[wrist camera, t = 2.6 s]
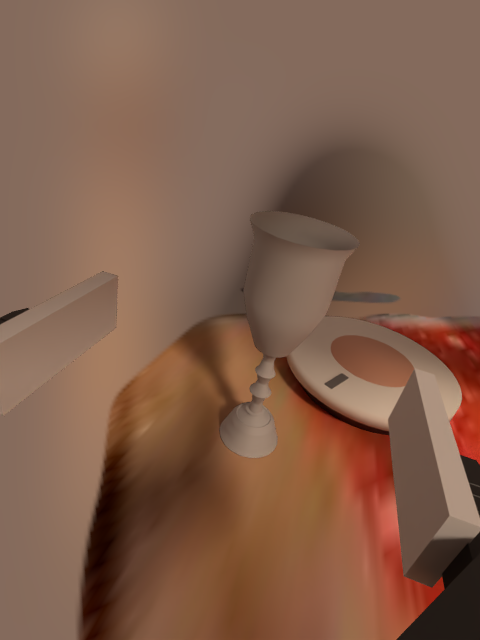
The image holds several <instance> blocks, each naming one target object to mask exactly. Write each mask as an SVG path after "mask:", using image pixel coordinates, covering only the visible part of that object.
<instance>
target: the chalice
mask: <svg viewBox="0 0 480 640" xmlns="http://www.w3.org/2000/svg"><path fill="white" fill-rule="evenodd" d="M250 221H251V225H252V229H253V233H254V241H253V246H252V251H251V256H250V261H249V266H248V271H247V276H246V281H245V285H244V290H243V292H244V299H245V306H246V315H247V318H248V322H249V326H250V329H251V333H252V337H253V340H254V344H255V347H256V348H257V349H258V350H259V351H260V352H262V353H263V359H262V361H261V363H260V365H259V366H257V367H256V369H255V371H256V373H257V377H258V380H257V381H256V383H253V384H252V385H251V386H250V392H251V393H252V401H251V402H246V403H242V404H240V405H238V406H236V407H235V408H234V409H233V410H232V412H230V414H229V415H228V416H227V417H226V418H225V419H224V420H223V422H222V423H221V426H220V436H221V439H222V441H223V442H224V444H225V445H226V446H227V447H228V448H229V449H230V450H231V451H233V452H235V453H236V454H238V455H240V456H244V457H248V458H260V457H263V456H267V455H268V454H270V453H271V452H272V451H274V449H275V447H276V445H277V438H278V437H277V434H276V428H275V425H274V419H273V416H272V414H271V413H270V412H269V410H268V409H267V408H266V407H265V406H263V405H262V404H263V401H264V399H265V398H268V397H269V396H270V395H271V390H270V388H269V387H268V382H269V381H270V379H271V378H273V377H275V371H274V361H275V359H276V357H278V358H281V357H286V356H287V355H289V354H290V353H291V352H292V351H293V350H294V349H295V348H296V347H298V346H299V345H300V344H301V343H302V342H303V341H304V340H305V339H306V338H307V337H308V336H309V335H310V334H311V333H312V332H313V331H314V329H315V328H316V327H317V326H318V324H319V323H320V322H321V321H322V319H323V318H324V317H325V315H326V314H327V312H328V309H329V306H330V303H331V300H332V297H333V295H334V292H335V288H336V285H337V283H338V280H339V277H340V274H341V271H342V268H343V265H344V262H345V260H346V259H347V258H348V257H349V256H350V255H351V254H352V253H353V252H354V251H355V250H356V248H358V246H359V244H360V243H359V241H358V240H357V238H356V237H354V236H353V235H352V234H350V233H349V232H347V231H345V230H343V229H341V228H339V227H336V226H334V225H332V224H329V223H326V222H324V221H320V220H317V219H314V218H310V217H306V216H302V215H297V214H292V213H285V212H276V211H263V212H256V213H254V214H252V215H251V217H250Z"/></svg>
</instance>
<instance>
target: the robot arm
mask: <svg viewBox="0 0 480 640" xmlns="http://www.w3.org/2000/svg"><path fill="white" fill-rule="evenodd" d="M117 287H118V276H117V275H114V274H110V273H107V272H104V271H102V272H100V273H98V274H96V275H95V276H93V277H91V278H89V279H87V280H85V281H83V282H81V283H79V284H77V285H76V286H73V287H72V288H70V289H68V290H66V291H64V292H62V293H60V294H58V295H56V296H54V297H52V298H50V299H49V300H47V301H45V302H43V303H41V304H39V305H37V306H35V307H33V308H31V309H28V308H26V309H22V310H18V311H14V312H11V313H9V314H7V315H5V316H3V317H1V318H0V415H2V416H4V415H5V414H6V413H8V412H9V411H10V410H12V409H13V408H14V407H15V406H17V405H18V404H19V403H21V402H22V401H23V400H24V399H25V398H27V397H28V396H29V395H31V394H32V393H33V392H34V391H36V390H37V389H38V388H40V387H41V386H42V385H43V384H45V383H46V382H47V381H49V380H50V379H51V378H53V377H54V376H55V375H56V374H58V373H59V372H60V371H61V370H63V369H64V368H65V367H66V366H68V365H69V364H70V363H72V362H73V361H74V360H76V359H77V358H78V357H79V356H81V355H82V354H83V353H84V352H86V351H87V350H88V349H90V348H91V347H92V346H93V345H95V344H96V343H97V342H99V341H100V340H101V339H102V338H104V337H105V336H106V335H107V334H109V333H110V332H111V331H113V330H114V329H115V328H116V316H117ZM388 425H389V435H390V445H391V455H392V464H393V474H394V484H395V494H396V504H397V514H398V524H399V534H400V543H401V553H402V563H403V573H404V576H405V577H407V578H410V579H412V580H415V581H417V582H420V583H422V584H425V585H427V586H430V587H433V586H434V585H435V584H436V582H437V581H438V580H439V579H440V578H441V577H443V583H444V588H445V590H444V591H443V592H442V593H441V594H440V595H439V596H438V597H437V598H436V599H435V600H434V601H433V602H432V603H431V604H430V605H429V606H428V607H427V608H426V609H425V611H424V612H423V613H422V614H421V615H420V616H419V617H418V618H417V619H416V620H415V621H414V622H413V623H412V624H411V625H410V626H409V627H408V628H407V629H406V630H405V631H404V632H403V633H402V634H401V635H400V636H399V638H398V639H397V640H480V465H479V464H478V462H477V461H476V460H473V459H471V458H468V457H465V456H462V455H460V454H459V451H458V448H457V444H456V441H455V438H454V435H453V432H452V429H451V425H450V422H449V419H448V416H447V413H446V410H445V407H444V403H443V400H442V397H441V394H440V391H439V388H438V384H437V381H436V378H435V375H434V374H431V373H428V372H425V371H421V370H418V369H415V368H414V370H413V372H412V374H411V376H410V378H409V380H408V382H407V384H406V386H405V388H404V389H403V391H402V393H401V395H400V397H399V399H398V401H397V403H396V405H395V407H394V409H393V411H392V412H391V414H390V416H389V418H388Z"/></svg>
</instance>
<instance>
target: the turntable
mask: <svg viewBox="0 0 480 640" xmlns="http://www.w3.org/2000/svg"><path fill="white" fill-rule="evenodd" d="M287 361H288V364H289V366H290V369H291V371H292V372H293V374H294V375H295V377H296V378H297V380H298V381H299V382H300V383H301V384H302V386H303V387H304V388H305V389H306V390H308V391H309V392H310V393H311V394H312V395H313V396H314V397H316V398H317V399H318V400H319V401H321V402H322V403H324V404H325V405H327V406H328V407H330V408H331V409H333V410H335V411H336V412H338V413H340V414H342V415H344V416H346V417H348V418H350V419H352V420H354V421H357V422H359V423H362V424H365V425H367V426H370V427H374V428H377V429H380V430H385V431H389V425H388V418H389V416H390V414H391V412H392V411H393V409H394V407H395V405H396V403H397V401H398V399H399V397H400V395H401V393H402V391H403V389H404V388H405V386H406V384H407V382H408V380H409V378H410V376H411V374H412V372H413V370H414V368H415V369H418V370H421V371H425V372H428V373H431V374H434V375H435V378H436V381H437V384H438V388H439V391H440V394H441V397H442V400H443V403H444V407H445V410H446V413H447V416H448V419H449V422H450V421H451V419H452V418H453V416H454V414H455V413H456V411H457V410H458V408H459V406H460V405H461V401H462V392H461V389H460V386H459V384H458V381H457V379H456V378H455V376H454V375H453V374H452V372H451V371H450V370H449V369H448V367H447V366H446V365H445V364H444V363H443V362H442V361H441V360H440V359H438V358H437V357H436V356H435V355H434V354H432V353H431V352H430V351H428V350H427V349H425V348H424V347H422V346H421V345H419V344H418V343H416V342H414V341H413V340H411V339H409V338H407V337H405V336H403V335H401V334H399V333H397V332H395V331H393V330H390V329H388V328H385V327H382V326H380V325H377V324H374V323H370V322H367V321H363V320H358V319H354V318H347V317H338V316H325V317H324V318H323V319H322V321H321V322H320V323H319V324H318V326H317V327H316V328H315V329H314V331H313V332H312V333H311V334H310V335H309V336H308V337H307V338H306V339H305V340H304V341H303V342H302V343H301V344H300V345H299V346H298V347H296V348H295V349H294V350H293V351H292V352H291V353H290V354H289V355H287Z"/></svg>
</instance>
